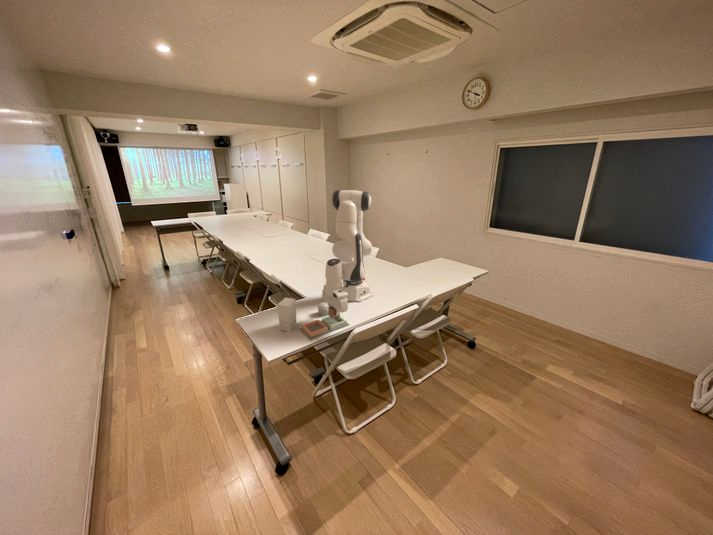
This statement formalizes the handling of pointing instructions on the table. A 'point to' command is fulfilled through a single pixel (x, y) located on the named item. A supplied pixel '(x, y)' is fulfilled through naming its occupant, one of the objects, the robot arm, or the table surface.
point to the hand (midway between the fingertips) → (334, 313)
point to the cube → (332, 312)
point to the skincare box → (287, 314)
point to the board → (323, 326)
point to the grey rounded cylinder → (323, 309)
